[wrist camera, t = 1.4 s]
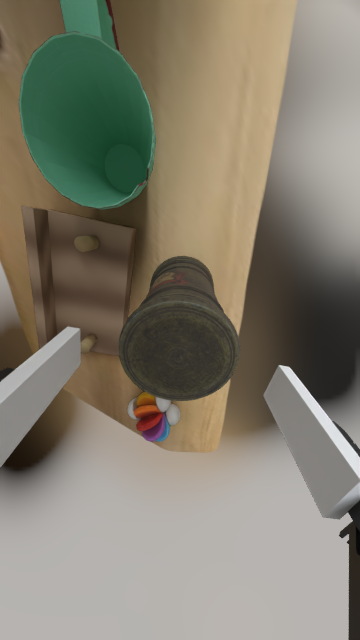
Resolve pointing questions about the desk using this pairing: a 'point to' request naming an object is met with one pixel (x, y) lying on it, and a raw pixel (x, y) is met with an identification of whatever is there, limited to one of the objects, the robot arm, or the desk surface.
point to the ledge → (79, 276)
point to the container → (179, 335)
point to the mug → (87, 111)
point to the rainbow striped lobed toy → (153, 416)
